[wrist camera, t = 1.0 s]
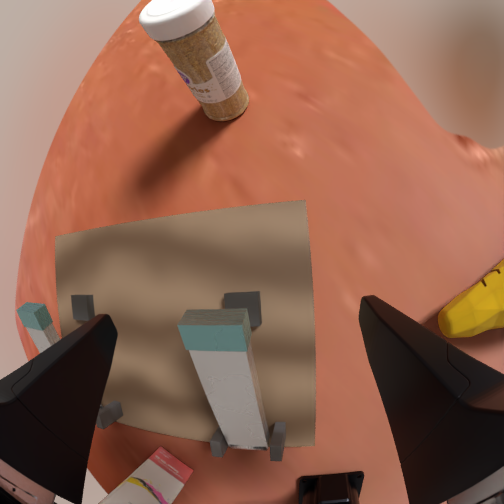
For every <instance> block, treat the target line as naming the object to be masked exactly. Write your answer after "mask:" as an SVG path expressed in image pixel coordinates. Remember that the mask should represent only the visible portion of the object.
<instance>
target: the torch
mask: <svg viewBox="0 0 504 504" xmlns="http://www.w3.org/2000/svg"><path fill="white" fill-rule="evenodd" d="M438 325H439V328H440V330H441V332H442V333H443V335H444V336H446V337H448V338H459V337H472V336H474V335H477V334H479V333H481V332H484V331H486V330H490V329H497V328H504V259H503V260H502V261H501V262H500V263H499V264H498V265H497V266H496V267H495V268H493V269H492V271H491V272H490V273H488V274H487V275H486V276H485V277H484V278H482V279H481V280H480V281H479V282H478V283H477V284H475V285H474V286H472V287H470V288H469V289H467V290H466V291H464V292H462V293H461V294H459V295H458V296H456V297H455V298H454V299H453V300H452V301H451V302H450V303H448V304H447V305H446V306H445V307H444V308H443V309H442V310H441V311H440V312H439V314H438Z"/></svg>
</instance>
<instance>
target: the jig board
mask: <svg viewBox="0 0 504 504" xmlns="http://www.w3.org/2000/svg"><path fill="white" fill-rule="evenodd" d="M55 268H56V289H57V302H58V312H59V320H60V328H61V335H62V338H64V337H65V336H66V335H68V334H69V333H71V332H72V331H74V330H75V329H77V328H78V327H80V326H81V325H83V324H84V323H86V322H87V321H89V320H90V319H92V318H94V317H95V316H97V315H98V314H109V315H110V317H111V318H112V321H113V323H114V325H115V327H116V329H117V332H118V338H117V342H116V346H115V351H114V356H113V361H112V365H111V370H110V373H109V377H108V380H107V384H106V387H105V391H104V394H103V398H102V402H101V405H102V406H103V408H101V409H99V413H98V417H97V421H96V424H97V427H98V428H101V429H105V428H106V427H108V426H109V425H110V424H112V423H113V422H119V423H122V424H125V425H129V426H132V427H136V428H140V429H144V430H148V431H152V432H156V433H161V434H165V435H170V436H175V437H180V438H186V439H192V440H198V441H205V442H210V446H211V452H212V456H215V457H223V455H224V454H225V452H226V450H227V448H228V446H229V445H228V443H227V441H226V439H225V437H224V435H223V433H222V430H221V428H220V426H219V424H218V422H217V419H216V417H215V415H214V412H213V410H212V408H211V405H210V403H209V401H208V398H207V396H206V393H205V391H204V389H203V386H202V384H201V381H200V379H199V376H198V373H197V371H196V368H195V365H194V363H193V360H192V357H191V355H190V352H189V350H186V349H185V346H184V343H183V340H182V337H181V335H180V332H179V329H178V326H177V325H178V323H179V321H180V320H181V318H182V317H183V315H184V313H185V312H186V310H189V309H239V308H247V311H248V317H249V322H250V328H251V333H252V334H251V339H250V340H251V346H252V351H253V356H254V361H255V366H256V371H257V376H258V382H259V387H260V392H261V396H262V401H263V406H264V411H265V416H266V421H267V426H268V430H269V435H270V438H269V446H268V447H270V459H271V461H282V457H283V451H284V447H302V446H315V420H316V350H315V319H314V298H313V281H312V266H311V253H310V241H309V230H308V219H307V209H306V200H299V201H288V202H278V203H268V204H258V205H249V206H240V207H232V208H224V209H216V210H208V211H200V212H193V213H186V214H179V215H172V216H165V217H159V218H153V219H146V220H140V221H134V222H128V223H122V224H117V225H111V226H106V227H100V228H95V229H90V230H84V231H79V232H74V233H69V234H65V235H60V236H55Z"/></svg>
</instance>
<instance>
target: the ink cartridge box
mask: <svg viewBox="0 0 504 504" xmlns="http://www.w3.org/2000/svg"><path fill="white" fill-rule="evenodd" d="M192 473H193V470H192V469H191V468H189V467H188V466H187V465H185V464H184V463H182V462H181V461H179V460H178V459H177V458H175V457H174V456H173V455H171V454H170V453H169V452H168V451H166V450H165V449H164V448H162V447H161V446H160V447H159V448H158V449H157V450H156V451H155V452H154V453H153V454H152V455H151V456H150V457H149V458H148V459H147V460H146V461H145V462H144V463H143V464H142V465H141V466H139V467H138V468H137V469H136V470H135V471H134V472H133V473H132V474H131V475H130V476H129V477H128V478H126V479H125V480H124V481H123V482H122V483H121V484H120V485H119V486H118V487H116V488H115V489H114V490H113V491H112V492H111V493H110V494H109V495H107V496H106V497H105V498H104V499H103V500H102V501H101V502H100V503H98V504H172V502H173V501H174V500H175V498H176V497H177V495H178V494H179V492H180V491H181V489H182V488H183V486H184V485H185V483H186V482H187V480H188V479H189V477H190V476H191V474H192Z"/></svg>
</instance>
